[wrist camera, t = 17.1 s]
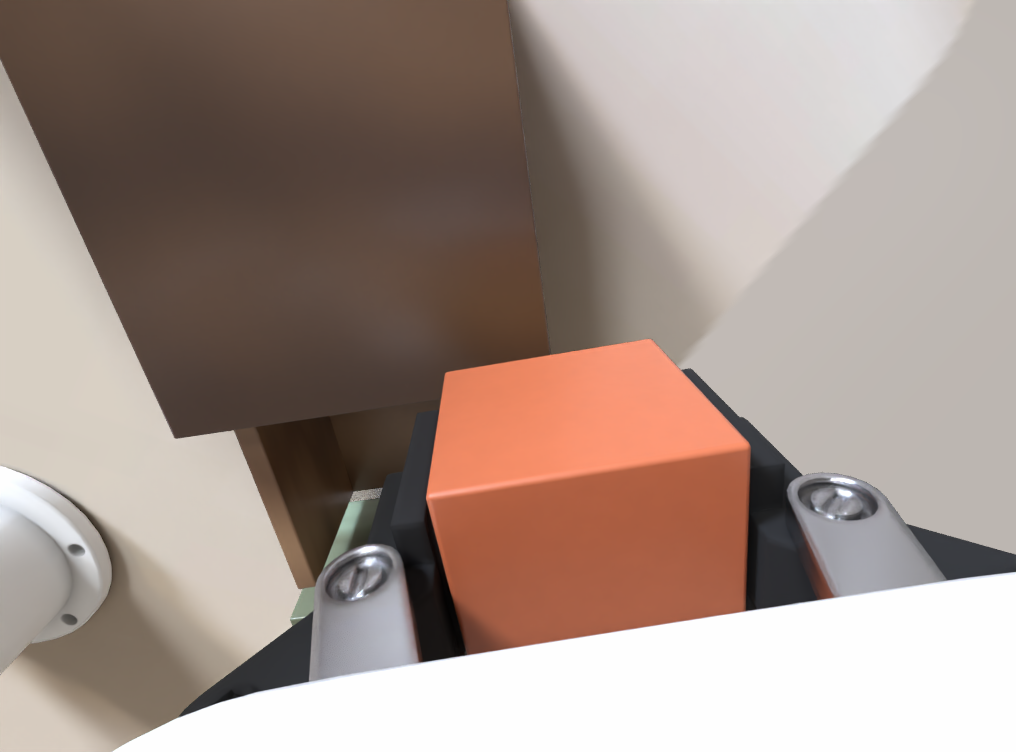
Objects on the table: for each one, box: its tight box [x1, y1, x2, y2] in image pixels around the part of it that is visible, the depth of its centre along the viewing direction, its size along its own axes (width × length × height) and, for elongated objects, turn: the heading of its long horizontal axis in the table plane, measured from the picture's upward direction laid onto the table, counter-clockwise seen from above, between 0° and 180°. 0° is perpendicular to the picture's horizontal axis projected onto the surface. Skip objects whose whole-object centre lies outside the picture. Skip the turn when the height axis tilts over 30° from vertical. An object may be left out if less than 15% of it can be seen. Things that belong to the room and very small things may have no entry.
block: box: [426, 339, 751, 655], centre depth 10 cm, size 4×4×4 cm
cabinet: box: [0, 0, 551, 439], centre depth 19 cm, size 15×13×10 cm
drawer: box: [234, 399, 467, 656], centre depth 24 cm, size 19×11×8 cm, turn 8°
